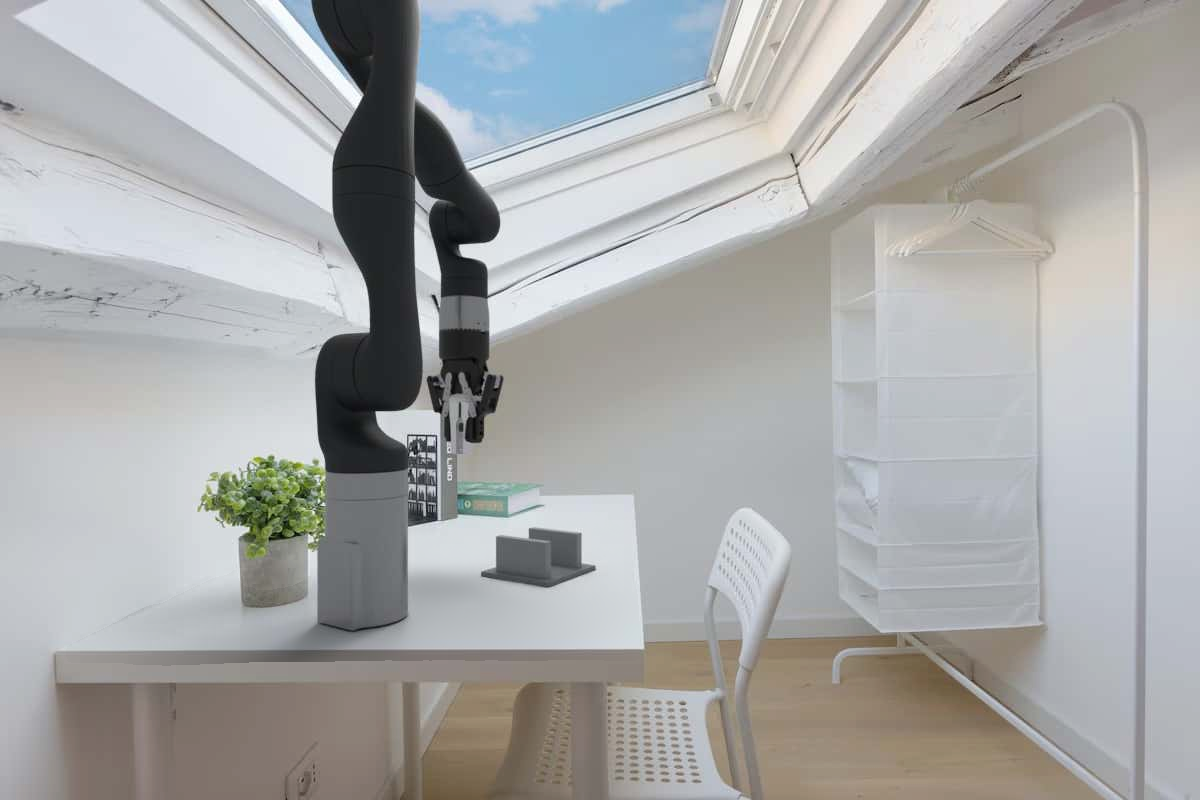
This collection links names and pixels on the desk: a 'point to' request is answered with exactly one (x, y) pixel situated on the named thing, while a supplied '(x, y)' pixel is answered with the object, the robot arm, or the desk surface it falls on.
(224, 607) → the desk surface
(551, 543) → the cradle
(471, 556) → the desk surface
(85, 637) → the desk surface
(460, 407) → the milkshake
